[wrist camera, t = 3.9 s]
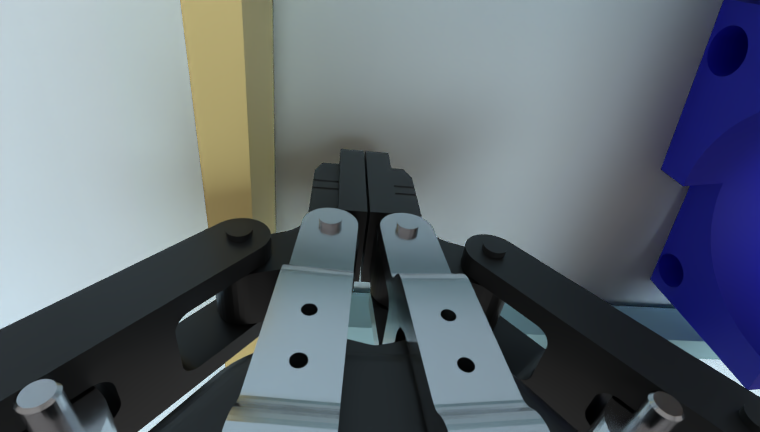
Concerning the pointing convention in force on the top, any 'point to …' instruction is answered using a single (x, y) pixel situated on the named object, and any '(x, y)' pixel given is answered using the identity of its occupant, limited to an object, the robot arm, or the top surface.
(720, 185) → the cable clip
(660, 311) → the sled
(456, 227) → the top surface
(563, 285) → the robot arm
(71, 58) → the top surface
